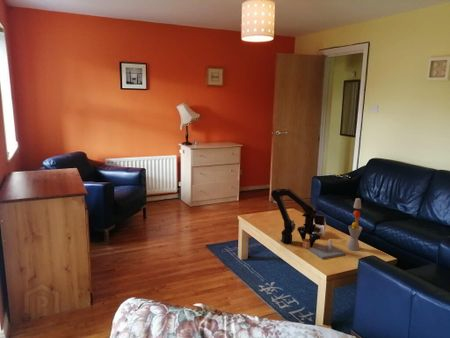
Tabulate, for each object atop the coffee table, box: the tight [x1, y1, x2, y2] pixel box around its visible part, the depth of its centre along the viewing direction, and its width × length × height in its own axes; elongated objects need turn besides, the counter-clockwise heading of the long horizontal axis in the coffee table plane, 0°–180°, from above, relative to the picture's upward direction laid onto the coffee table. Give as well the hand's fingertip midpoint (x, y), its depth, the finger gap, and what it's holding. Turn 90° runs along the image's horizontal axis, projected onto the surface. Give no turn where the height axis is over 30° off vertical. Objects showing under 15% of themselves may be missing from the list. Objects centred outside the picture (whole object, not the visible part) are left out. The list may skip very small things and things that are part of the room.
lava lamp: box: [346, 197, 363, 252], centre depth 236 cm, size 9×9×35 cm
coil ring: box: [302, 238, 314, 249], centre depth 241 cm, size 7×7×4 cm
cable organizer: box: [313, 221, 327, 237], centre depth 262 cm, size 15×11×12 cm
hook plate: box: [308, 238, 346, 260], centre depth 231 cm, size 18×14×9 cm
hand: (307, 244), depth 241 cm, fingers open, 9 cm apart
